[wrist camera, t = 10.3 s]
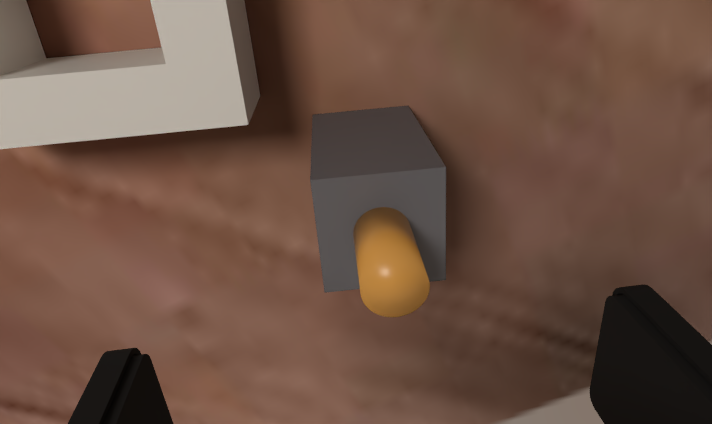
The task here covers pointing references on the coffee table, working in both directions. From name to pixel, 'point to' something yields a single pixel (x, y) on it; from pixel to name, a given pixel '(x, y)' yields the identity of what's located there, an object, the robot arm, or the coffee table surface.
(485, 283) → the coffee table surface
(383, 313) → the plug
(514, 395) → the coffee table surface
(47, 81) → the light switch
